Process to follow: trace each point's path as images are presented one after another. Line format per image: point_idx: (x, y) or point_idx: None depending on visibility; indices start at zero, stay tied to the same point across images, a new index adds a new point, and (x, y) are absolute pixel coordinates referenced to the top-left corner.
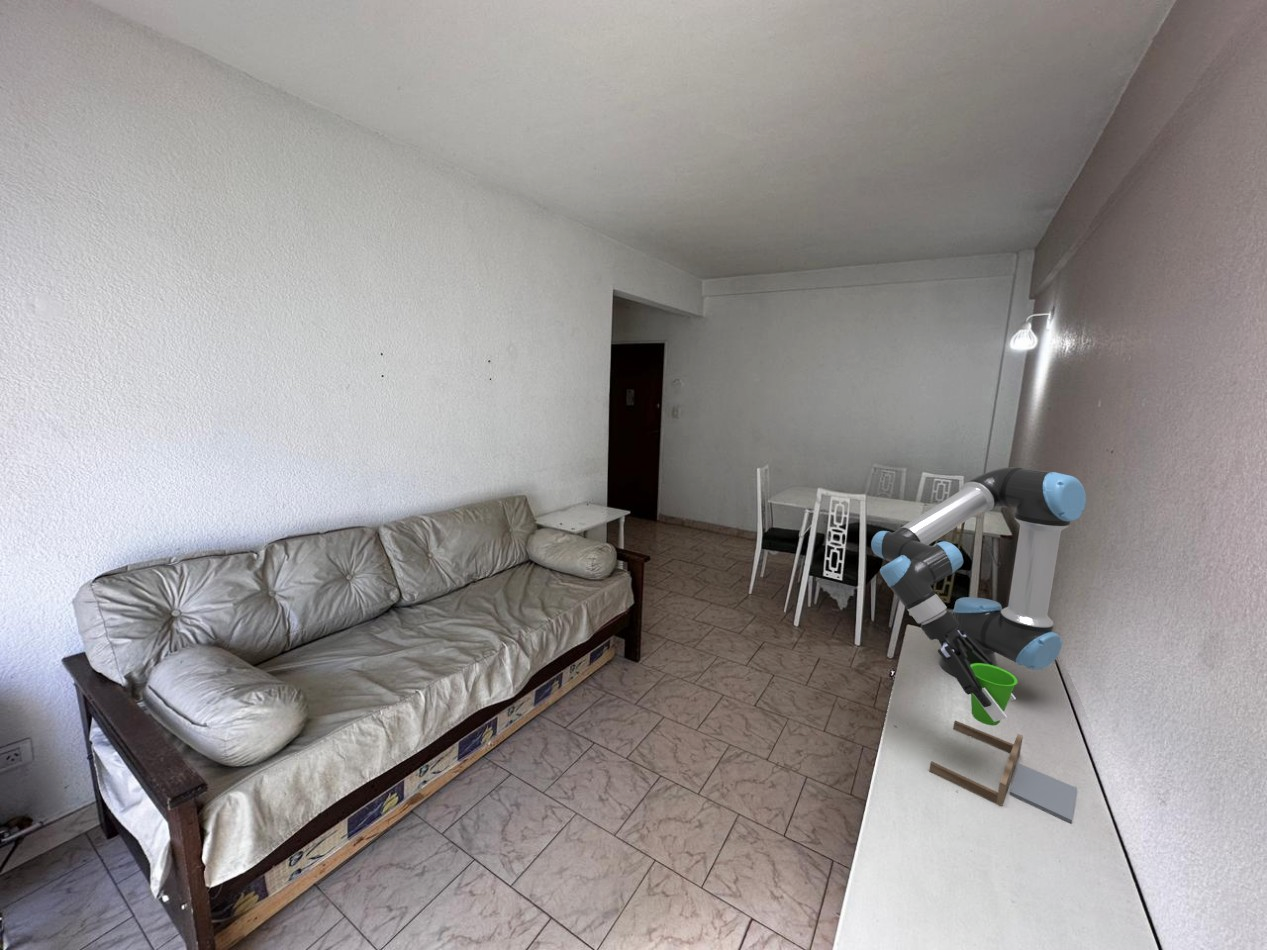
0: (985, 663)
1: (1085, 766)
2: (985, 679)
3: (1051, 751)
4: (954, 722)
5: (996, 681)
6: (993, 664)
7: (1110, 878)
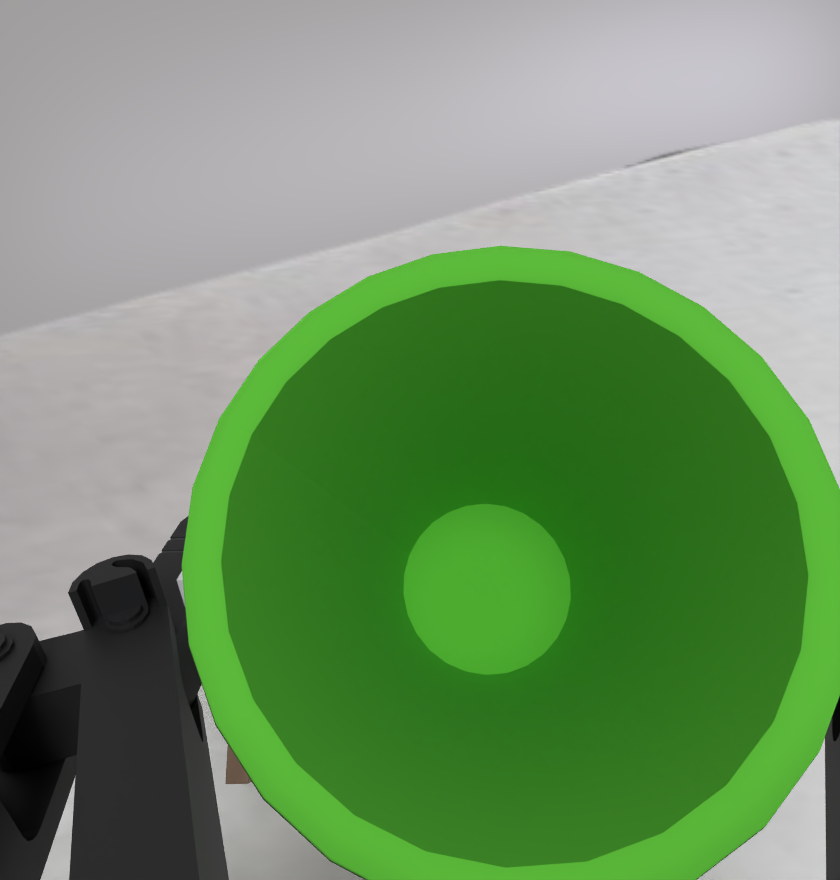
0: (177, 703)
1: (157, 307)
2: (324, 646)
3: (135, 405)
4: (248, 781)
5: (305, 535)
6: (5, 624)
7: (730, 190)
